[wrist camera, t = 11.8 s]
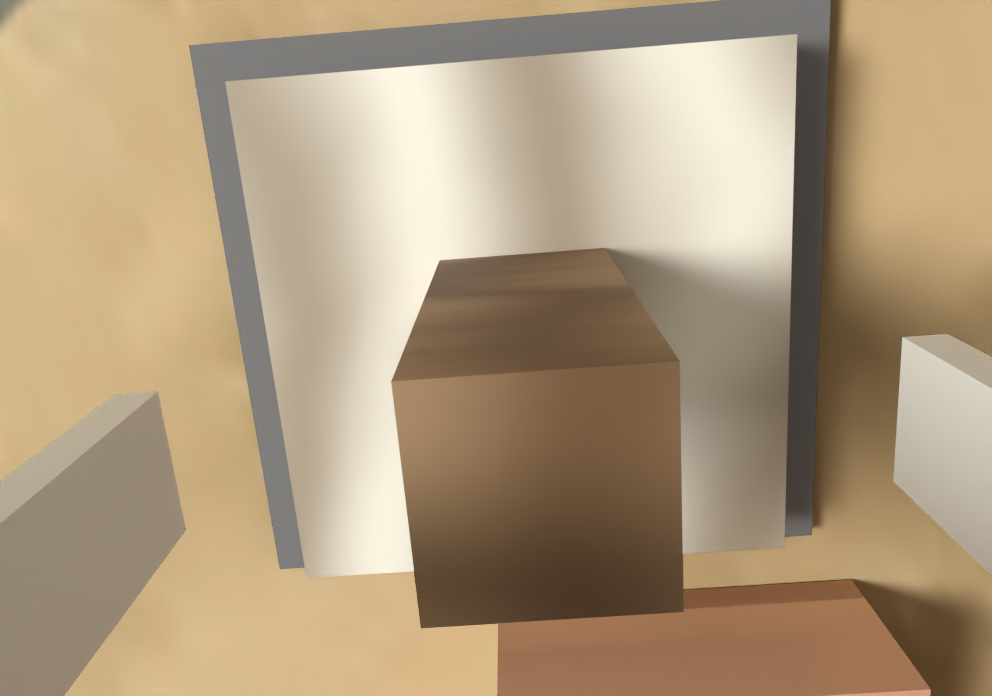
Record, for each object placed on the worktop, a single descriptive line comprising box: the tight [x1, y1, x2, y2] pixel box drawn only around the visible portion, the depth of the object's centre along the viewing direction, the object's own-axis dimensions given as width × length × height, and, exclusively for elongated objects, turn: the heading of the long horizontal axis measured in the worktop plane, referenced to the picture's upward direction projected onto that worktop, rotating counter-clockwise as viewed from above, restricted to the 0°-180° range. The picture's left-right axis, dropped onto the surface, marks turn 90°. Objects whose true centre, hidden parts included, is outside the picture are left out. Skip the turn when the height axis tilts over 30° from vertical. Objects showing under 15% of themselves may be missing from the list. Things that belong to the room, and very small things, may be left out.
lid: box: [225, 34, 797, 628], centre depth 17 cm, size 13×13×11 cm
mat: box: [189, 0, 831, 569], centre depth 23 cm, size 16×15×1 cm
